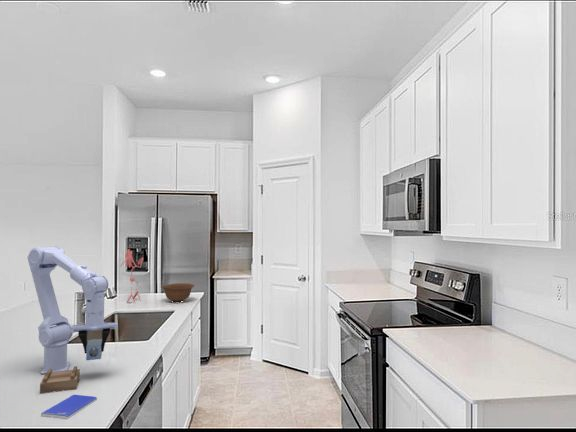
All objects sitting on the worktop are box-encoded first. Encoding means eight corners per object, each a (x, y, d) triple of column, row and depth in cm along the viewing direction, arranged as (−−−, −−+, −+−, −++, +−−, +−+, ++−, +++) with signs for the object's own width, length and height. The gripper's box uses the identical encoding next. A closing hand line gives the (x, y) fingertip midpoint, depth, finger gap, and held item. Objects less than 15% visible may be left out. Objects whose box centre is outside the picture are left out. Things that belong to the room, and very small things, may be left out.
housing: (87, 354, 145) (88, 339, 145) (102, 352, 147) (102, 338, 147) (86, 360, 138) (86, 345, 138) (100, 359, 140) (101, 344, 140)
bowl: (153, 301, 275) (153, 285, 275) (181, 297, 292) (181, 281, 292) (173, 306, 261) (173, 289, 261) (201, 301, 278) (201, 285, 278)
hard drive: (67, 415, 111) (97, 396, 123) (40, 412, 113) (72, 394, 125) (67, 421, 111) (96, 401, 123) (40, 418, 113) (72, 399, 125)
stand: (46, 381, 137) (46, 368, 137) (79, 377, 140) (79, 365, 141) (39, 393, 128) (40, 379, 128) (76, 389, 131) (76, 375, 131)
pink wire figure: (146, 298, 288) (146, 247, 289) (131, 305, 263) (131, 250, 263) (125, 298, 289) (124, 248, 289) (107, 305, 263) (107, 250, 264)
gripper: (69, 315, 136) (69, 357, 136) (117, 312, 141) (116, 352, 141) (72, 311, 143) (71, 351, 143) (117, 308, 148) (117, 346, 148)
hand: (94, 351), depth 142 cm, fingers closed on housing, 4 cm apart
